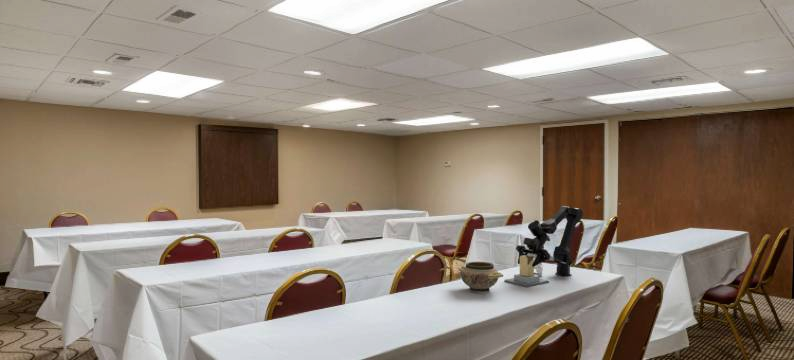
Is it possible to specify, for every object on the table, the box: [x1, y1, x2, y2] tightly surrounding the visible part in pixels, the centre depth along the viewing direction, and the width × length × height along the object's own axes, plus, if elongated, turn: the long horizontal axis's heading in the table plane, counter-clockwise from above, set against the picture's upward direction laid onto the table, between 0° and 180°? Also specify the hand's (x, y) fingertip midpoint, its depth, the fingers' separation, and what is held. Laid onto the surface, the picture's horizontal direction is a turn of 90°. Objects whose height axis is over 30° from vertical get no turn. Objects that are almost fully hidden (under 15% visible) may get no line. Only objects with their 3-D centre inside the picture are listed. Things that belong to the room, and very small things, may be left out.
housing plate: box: [504, 273, 550, 288], centre depth 237 cm, size 18×14×4 cm
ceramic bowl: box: [457, 261, 504, 294], centre depth 219 cm, size 24×18×15 cm
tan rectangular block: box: [519, 254, 535, 277], centre depth 237 cm, size 5×5×12 cm
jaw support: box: [534, 257, 544, 277], centre depth 257 cm, size 12×9×10 cm
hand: (525, 265), depth 236 cm, fingers open, 9 cm apart
